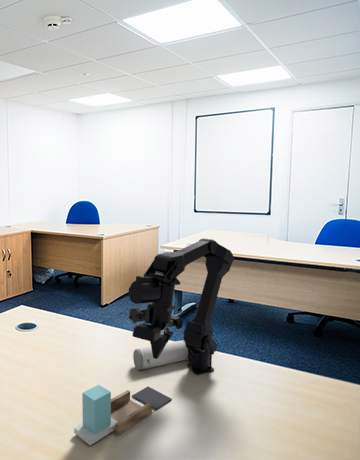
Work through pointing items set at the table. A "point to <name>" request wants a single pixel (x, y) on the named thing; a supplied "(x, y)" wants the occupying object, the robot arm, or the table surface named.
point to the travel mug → (161, 355)
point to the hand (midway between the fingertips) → (155, 358)
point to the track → (127, 412)
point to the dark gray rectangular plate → (152, 397)
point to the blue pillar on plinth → (96, 415)
